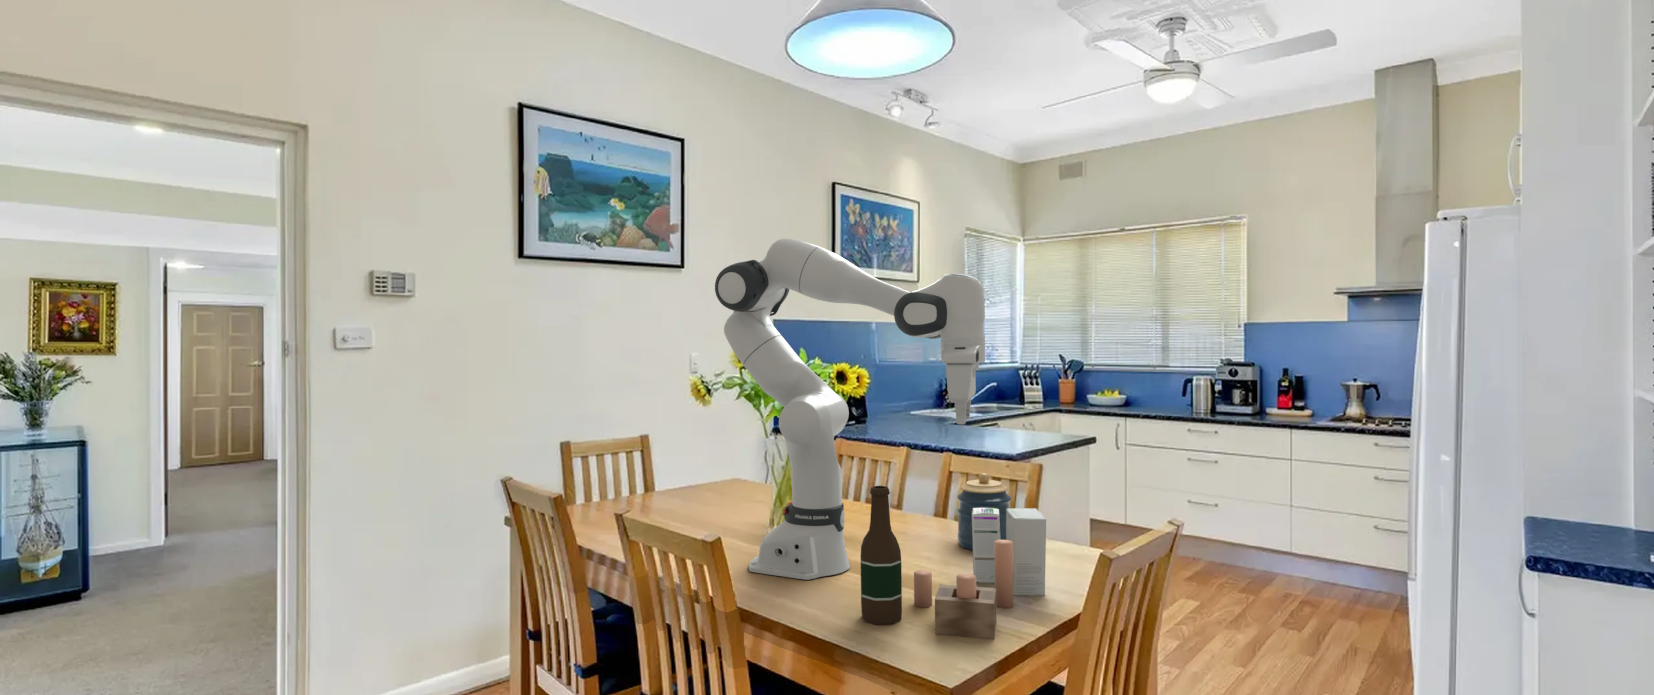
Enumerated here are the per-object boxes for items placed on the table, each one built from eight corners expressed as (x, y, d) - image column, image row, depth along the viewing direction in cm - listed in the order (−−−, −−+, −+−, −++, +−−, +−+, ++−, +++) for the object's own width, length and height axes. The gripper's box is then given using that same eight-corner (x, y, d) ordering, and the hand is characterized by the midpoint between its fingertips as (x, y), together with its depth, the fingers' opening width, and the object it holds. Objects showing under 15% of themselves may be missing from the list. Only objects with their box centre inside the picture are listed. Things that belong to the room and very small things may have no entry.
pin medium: (956, 630, 133) (955, 579, 132) (958, 623, 136) (957, 573, 136) (976, 632, 132) (975, 580, 132) (977, 624, 135) (976, 574, 135)
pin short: (913, 606, 145) (912, 575, 144) (915, 600, 148) (915, 569, 148) (930, 608, 144) (930, 576, 144) (933, 601, 147) (932, 571, 147)
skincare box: (1005, 582, 158) (1004, 507, 157) (1037, 582, 157) (1036, 507, 157) (1014, 596, 149) (1013, 517, 149) (1047, 596, 149) (1047, 517, 149)
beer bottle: (872, 628, 134) (870, 493, 134) (853, 614, 141) (851, 485, 141) (910, 621, 137) (909, 488, 137) (890, 607, 144) (888, 481, 144)
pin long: (994, 607, 144) (993, 543, 143) (995, 601, 147) (995, 539, 147) (1012, 608, 143) (1012, 545, 142) (1013, 602, 146) (1013, 540, 146)
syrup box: (1001, 583, 157) (1000, 513, 157) (972, 582, 158) (971, 512, 158) (1001, 575, 163) (1000, 507, 162) (972, 574, 164) (972, 506, 163)
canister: (978, 535, 195) (978, 466, 195) (1022, 545, 186) (1021, 472, 185) (946, 545, 186) (946, 473, 186) (991, 556, 177) (990, 480, 176)
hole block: (935, 633, 131) (934, 599, 131) (940, 617, 139) (940, 584, 139) (994, 639, 129) (993, 603, 129) (996, 621, 136) (996, 588, 136)
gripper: (952, 352, 165) (953, 415, 166) (941, 354, 146) (941, 426, 146) (982, 352, 164) (982, 416, 164) (974, 354, 144) (975, 427, 144)
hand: (963, 421), depth 155 cm, fingers open, 8 cm apart
